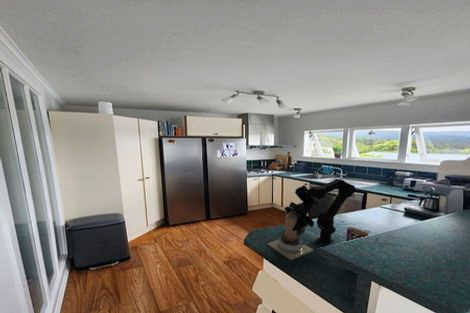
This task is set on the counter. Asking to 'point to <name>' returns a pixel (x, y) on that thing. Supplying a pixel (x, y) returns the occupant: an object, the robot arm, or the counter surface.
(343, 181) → the robot arm
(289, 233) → the beige cylinder
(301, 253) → the motor mount
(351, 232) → the candy box
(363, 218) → the counter surface
